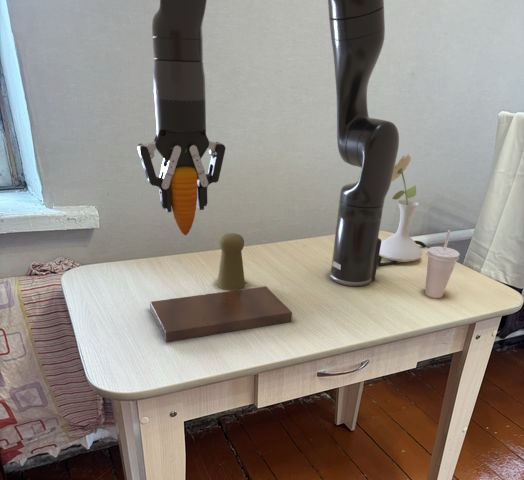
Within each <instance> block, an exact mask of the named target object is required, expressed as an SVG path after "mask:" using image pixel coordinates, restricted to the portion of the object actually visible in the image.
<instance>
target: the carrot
mask: <svg viewBox="0 0 524 480" xmlns="http://www.w3.org/2000/svg"><path fill="white" fill-rule="evenodd" d="M170 149H172V148H170ZM186 150H187V149H186ZM185 152H186V151H185ZM171 167H172V166H171ZM197 188H198V176H197V172H196V170H195V167H185V166H184V167H179V168H175V171H174V175H173V176H172V178H171V182H170V185H169V189H170V190H171V209H172V214H173V217H174V220H175V222H176V225H177V227H178V229H179V230H180V232H181V234H182V235H184V236H187V235H188V234H189V233H190V230H191V229H192V227H193V223H194V221H195V216H196V210H197V205H196V204H197Z"/></svg>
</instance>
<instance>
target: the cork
mask: <svg viewBox="0 0 524 480" xmlns="http://www.w3.org/2000/svg"><path fill="white" fill-rule="evenodd" d="M218 246H219V249H220V250H221V253H220V261H219V266H218V274H217V282H216V285H217V287H218V288H220V289H222V290H226V291H235V290H242V289H244V287H246V280H245V272H244V263H243V254H242V250H243V249H244V246H245V239H244V237H243V236H242V235H241V234H239V233H235V232H227V233H223V234H221V236H219V240H218Z"/></svg>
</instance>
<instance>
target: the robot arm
mask: <svg viewBox="0 0 524 480" xmlns="http://www.w3.org/2000/svg"><path fill="white" fill-rule="evenodd" d="M207 1H208V0H159V8H158V10H157V11H156V12H155V14H154V15H153V18H152V22H151V30H152V31H151V37H152V47H153V48H152V51H153V71H152V72H153V74H152V75H153V76H152V77H153V82H152V83H153V87H152V92H153V97H154V98H153V99H154V111H155V112H154V113H155V128H156V129H155V130H156V133H155V137H154V139H153V141H152V142H149V143H145V144H143V143H138V144H137V146H136V149H137V153H138V155H139V158H140V162H141V165H142V168H143V171H144V175H145V177H146V180H147V182H148V183H149V184H150V185H151V186H153V187H158V188H159V203H160V206H161V208H162V209H164V211H165V212H166V213H172V212H173V210H172V206H171V190H170V189H169V185H170V182H171V178H172V176H173V175H174V171H175V168H179V167H184V166H185V167H195V170H196V172H197V176H198V188H197V204H196V209H198V210H199V211H204V210H205V207H207V205H208V187H209V186H210V185H211V184H213V183H214V184H215V183H218V182H219V179H220V175H221V171H222V167H223V162H224V157H225V154H226V146H225V145H224V143H221V142H219V141H211V140H210V139H209V138H208V136H207V115H206V112H207V111H206V110H207V109H206V108H207V107H206V106H207V105H206V75H205V70H204V62H203V61H204V40H203V23H204V18H205V13H206V8H207ZM384 4H385V0H327V6H328V8H327V9H328V20H329V30H330V40H331V47H332V54H333V55H332V56H333V65H334V77H335V78H334V79H335V91H336V140H337V141H336V142H337V149H338V153H339V156H340V158H341V160H342V161H343V162H344V163H346V164H348V165H350V166H354V167H357V168H361V169H360V173H359V177H358V180H357V181H356V182H352V183H347V184H345V185H343V186H342V187H341V189H340V192H339V193H340V194H339V201H338V209H337V217H336V224H335V225H336V226H335V235H334V242H333V251H332V259H331V267H330V272H329V278H330V279H331V280H332V281H333V282H335V283H338V284H341V285H344V286H348V287H349V286H350V287H361V286H362V287H363V286H367V285H369V284H370V283H371V282H374V281H376V275H377V270H378V267H386V266H393V265H396V264H398V263H400V262H399V261H393V260H390V261H387V262H382V260H383V257H382V256H380V255H379V253H380V247H381V242H382V239H381V238H379V235H380V229H381V225H382V223H381V222H382V216H383V211H384V206H385V205H384V204H385V199H386V196H387V195H388V192H389V191H390V187H391V185H392V184H391V183H392V182H391V180H392V175H393V171H394V166H395V164H396V161H397V159H398V158H397V157H398V152H399V145H400V133H399V130H398V127H397V125H396V124H395V123H394V122H391V121H390V120H386V119H380V118H374V117H370V116H369V111H368V110H369V109H368V86H369V83H370V79H371V77H372V74H373V72H374V70H375V67H376V64H377V62H378V60H379V58H380V55H381V53H382V49H383V46H384V43H385V36H386V24H385V23H386V22H385V21H386V20H385V5H384ZM170 148H172V149H170ZM186 149H187V150H186ZM156 150H157V152H158V153H159V154H160V156H161V157H162V158H163V160H162V164H161V167H160V174H159V176H157V174H156V170H155V168H154V165H153V161H152V159H154V158H155V151H156ZM207 150H208V153H209V155H210V161H209V165H208V170H207V173H206V171H205V168H204V164H203V161H202V158H203V156H204V155H205V153H206V151H207ZM185 151H186V152H185ZM171 166H172V167H171ZM414 241H415V243H416V244H417V245H418V246H419V245H420V246H421V247H422V248H427V245H426V244H425V243H424V242H423V241H420V240H414Z"/></svg>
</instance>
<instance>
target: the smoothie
mask: <svg viewBox="0 0 524 480" xmlns="http://www.w3.org/2000/svg"><path fill="white" fill-rule="evenodd" d="M450 235H451V230H450V229H448V230H447V232H446V236H445V240H444V244H443V246H431V247H429V248H428V249H427V253H426V255H427V268H426V275H425V276H426V277H425V288H424V295H425V296H427V297H430V298H433V299H440V298H443V296H444V293H445V291H446V289H447V286H448V283H449V281H450V278H451V276H452V274H453V270H454V268H455V265H456V263H457V262H458V261H459V259H460V255H461V254H460V252H459V251H458V250H456V249H453V248H451V247H448V243H449V239H450Z"/></svg>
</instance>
